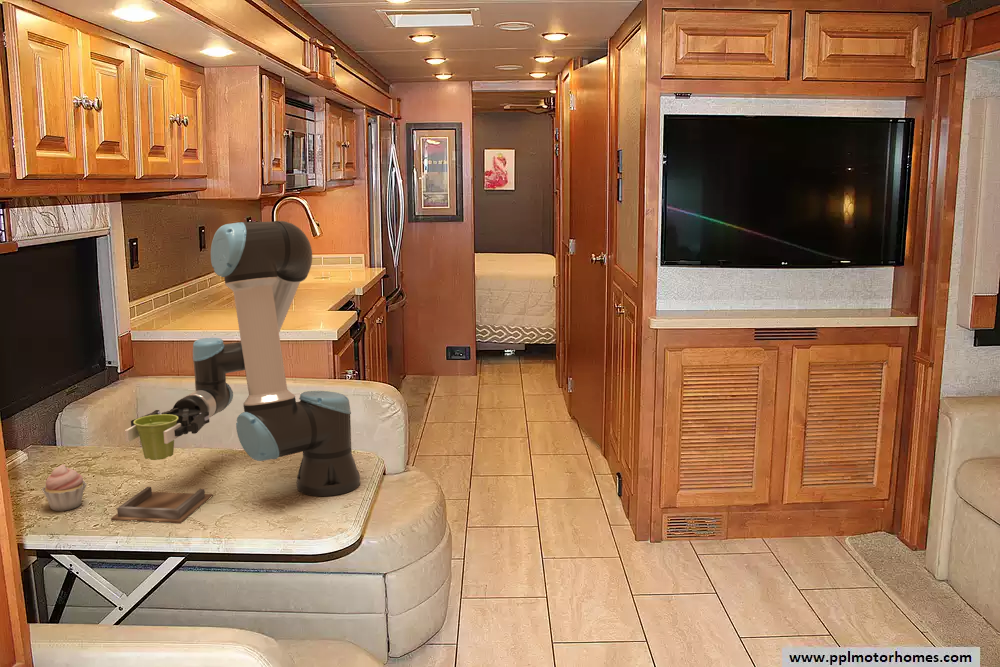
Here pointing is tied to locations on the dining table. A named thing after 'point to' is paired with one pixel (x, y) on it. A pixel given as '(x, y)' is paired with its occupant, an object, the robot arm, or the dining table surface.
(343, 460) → the robot arm
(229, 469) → the dining table surface
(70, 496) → the cupcake
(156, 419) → the plant pot
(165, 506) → the keeper bracket
